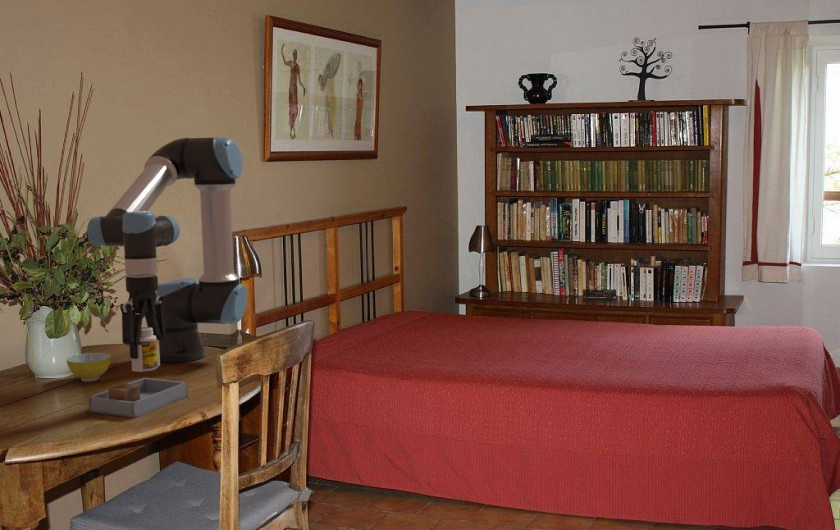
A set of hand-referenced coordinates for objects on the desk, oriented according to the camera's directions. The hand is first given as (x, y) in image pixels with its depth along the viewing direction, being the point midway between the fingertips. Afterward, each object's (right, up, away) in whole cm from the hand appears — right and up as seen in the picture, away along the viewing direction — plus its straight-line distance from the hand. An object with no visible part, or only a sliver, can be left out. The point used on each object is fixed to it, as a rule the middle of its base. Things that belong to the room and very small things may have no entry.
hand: (146, 368), depth 226 cm
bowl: (-22, -6, +23) cm, 32 cm away
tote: (-1, -9, -1) cm, 9 cm away
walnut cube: (-3, -9, -6) cm, 11 cm away
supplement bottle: (0, 0, 0) cm, 1 cm away
